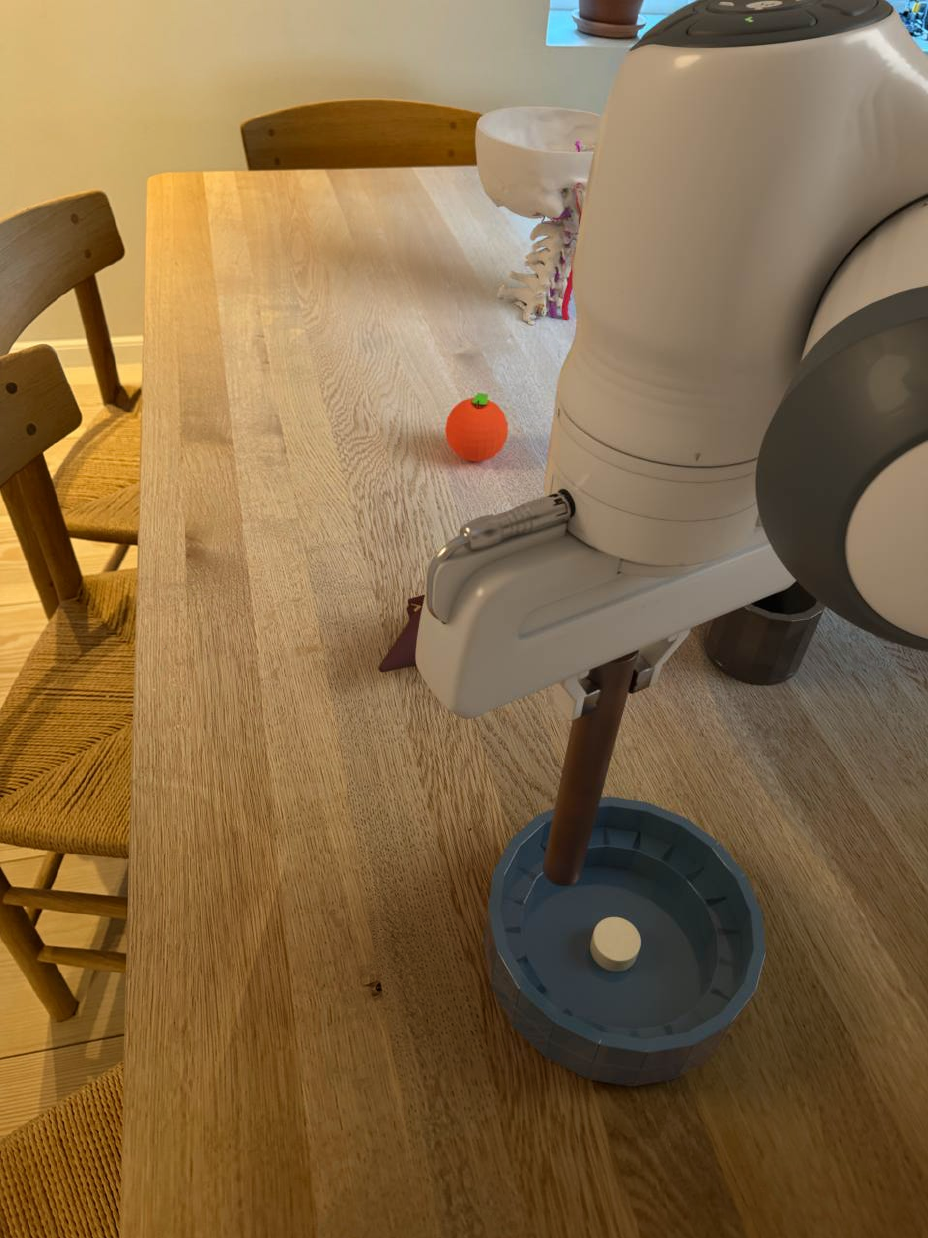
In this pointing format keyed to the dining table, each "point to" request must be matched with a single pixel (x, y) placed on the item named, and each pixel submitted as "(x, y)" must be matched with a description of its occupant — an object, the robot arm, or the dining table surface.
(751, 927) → the bowl
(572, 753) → the stick
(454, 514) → the dining table surface
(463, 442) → the clementine
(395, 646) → the icecream
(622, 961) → the dough
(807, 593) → the holder
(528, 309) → the skull
